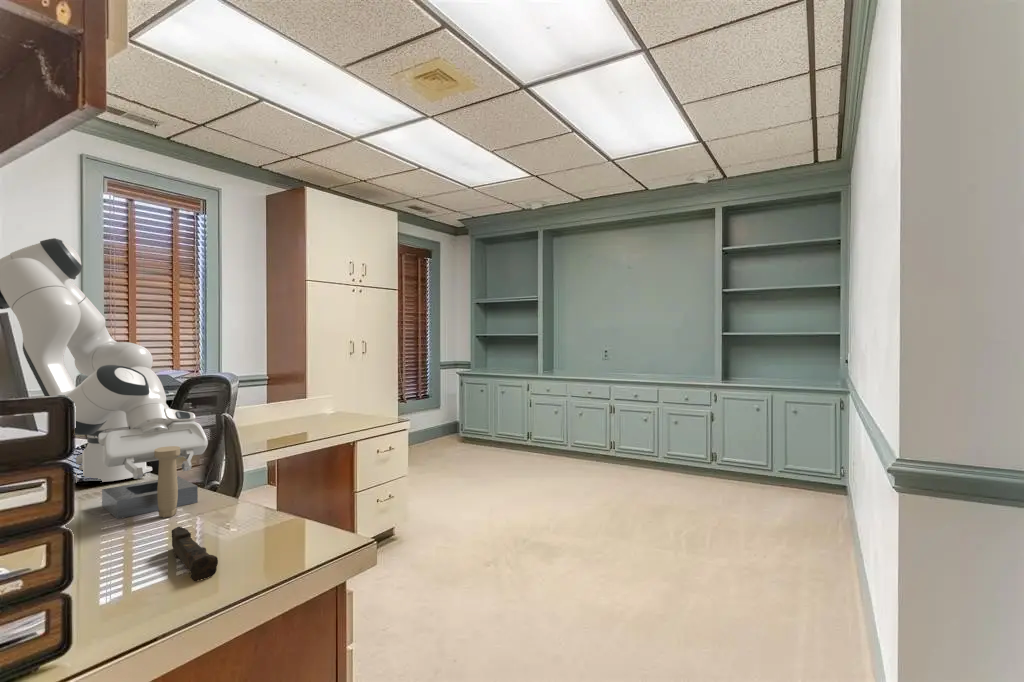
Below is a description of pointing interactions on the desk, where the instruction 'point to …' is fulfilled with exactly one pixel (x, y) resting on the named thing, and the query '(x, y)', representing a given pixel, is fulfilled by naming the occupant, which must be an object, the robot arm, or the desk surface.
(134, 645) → the desk surface
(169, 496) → the handle
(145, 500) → the jig
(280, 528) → the desk surface
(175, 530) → the hand tool
